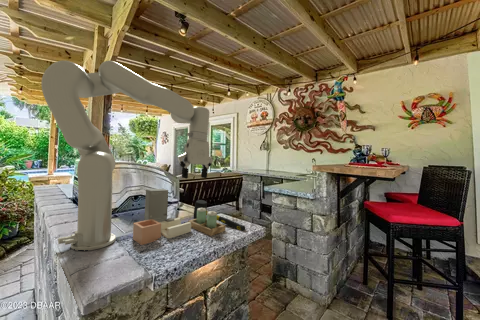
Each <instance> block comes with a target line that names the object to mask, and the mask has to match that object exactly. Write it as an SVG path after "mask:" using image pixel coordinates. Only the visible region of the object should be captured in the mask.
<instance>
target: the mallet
mask: <svg viewBox="0 0 480 320" xmlns="http://www.w3.org/2000/svg"><path fill="white" fill-rule="evenodd" d="M198 208H205V209H206V216H207V213H208V212H209V211H208V209H207V208H208V202H207V201H206V200H203V199H197V200H196V201H195V204H194V209H193V219H197V209H198ZM217 222H219V223H221V224H223V225H226V226H228V227H231V228H233V229H235V230H238V231H240V232H241V231H242V232H244V231H245V230H246V225H243V224H239V223H238V222H235V221H233V220H231V219H228V218H226V217H223V216H220V215H218V214H217Z"/></svg>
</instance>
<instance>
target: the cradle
mask: <svg viewBox="0 0 480 320" xmlns="http://www.w3.org/2000/svg"><path fill="white" fill-rule="evenodd" d="M159 223H161V236H163V237H165V238H166V239H171V238H175V237H178V236H181V235H185V234H187V233H191V232H192V227H191V222H188V221H187V222H184V223H182V218H181V217H175V218H173V217H167V219H165V221H163V222H159ZM166 228H167V231H166Z"/></svg>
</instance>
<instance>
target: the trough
mask: <svg viewBox="0 0 480 320" xmlns="http://www.w3.org/2000/svg"><path fill="white" fill-rule="evenodd" d="M187 222H191V229H195V230H197V232H198V231H199V232H201V233H203V234H206V235H208V236H210V237H212V236H215V235H218V234H220V233H222V232H225V231H226V226H227V225H226V224H224V223H221V222H218V221H217V222H216V228H213V229H210V228H208V227H207V218H206V223H203V224H198V223H196V222H197V219H194V218H193V219H190V220H188V221H187Z"/></svg>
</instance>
